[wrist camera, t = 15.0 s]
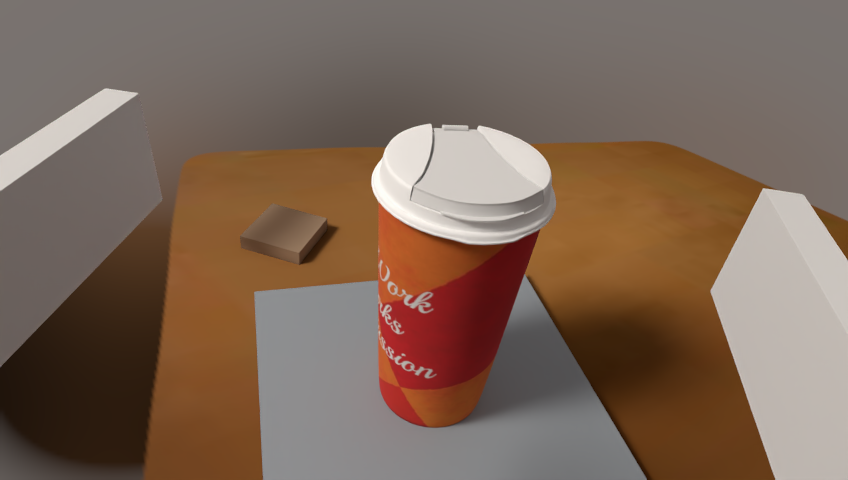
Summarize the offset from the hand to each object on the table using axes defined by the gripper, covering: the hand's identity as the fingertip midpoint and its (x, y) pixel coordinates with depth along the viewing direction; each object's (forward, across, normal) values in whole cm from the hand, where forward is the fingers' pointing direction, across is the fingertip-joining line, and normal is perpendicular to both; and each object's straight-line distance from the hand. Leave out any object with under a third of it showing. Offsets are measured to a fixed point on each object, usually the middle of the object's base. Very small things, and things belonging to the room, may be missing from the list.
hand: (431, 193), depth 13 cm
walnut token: (+21, -12, -20) cm, 32 cm away
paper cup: (+10, 0, -19) cm, 21 cm away
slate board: (+10, 0, -20) cm, 22 cm away
